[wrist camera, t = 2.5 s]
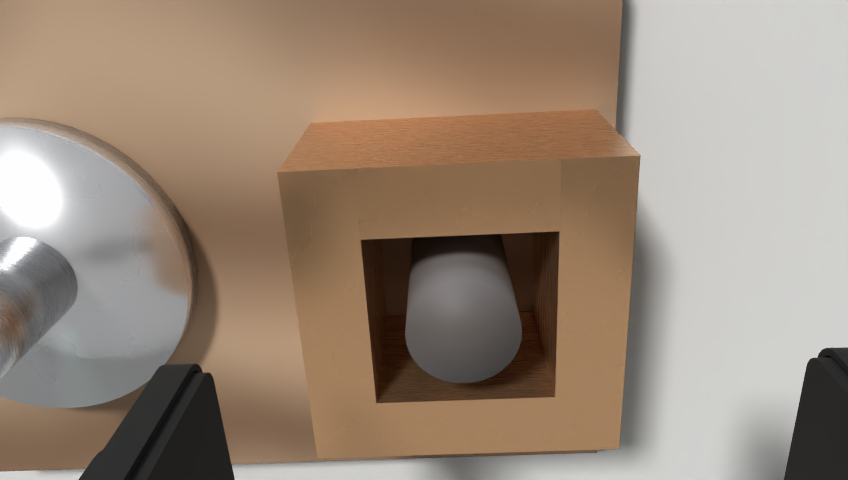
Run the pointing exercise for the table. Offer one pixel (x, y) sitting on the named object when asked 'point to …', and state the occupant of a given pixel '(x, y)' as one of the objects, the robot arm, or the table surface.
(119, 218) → the steel hub
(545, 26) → the walnut board
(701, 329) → the table surface
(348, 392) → the wooden square washer
